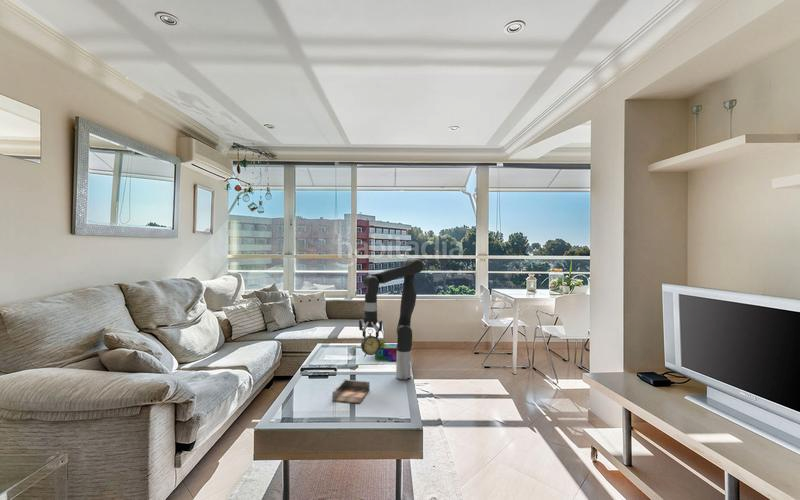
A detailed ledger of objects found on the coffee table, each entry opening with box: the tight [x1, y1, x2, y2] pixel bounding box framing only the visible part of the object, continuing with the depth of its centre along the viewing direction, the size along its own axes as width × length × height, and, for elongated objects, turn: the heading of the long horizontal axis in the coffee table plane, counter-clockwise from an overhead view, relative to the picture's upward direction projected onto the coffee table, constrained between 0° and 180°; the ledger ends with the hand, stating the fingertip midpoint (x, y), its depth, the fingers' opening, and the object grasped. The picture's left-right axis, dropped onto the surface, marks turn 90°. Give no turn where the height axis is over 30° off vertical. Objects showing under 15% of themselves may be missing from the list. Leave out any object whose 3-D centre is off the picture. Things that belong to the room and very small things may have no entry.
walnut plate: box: [331, 388, 370, 405], centre depth 210 cm, size 15×19×1 cm
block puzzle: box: [374, 337, 397, 363], centre depth 282 cm, size 25×17×14 cm
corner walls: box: [331, 379, 370, 400], centre depth 210 cm, size 15×19×4 cm
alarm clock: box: [360, 328, 380, 358], centre depth 226 cm, size 11×5×16 cm, turn 118°
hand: (370, 337), depth 226 cm, fingers closed on alarm clock, 7 cm apart
